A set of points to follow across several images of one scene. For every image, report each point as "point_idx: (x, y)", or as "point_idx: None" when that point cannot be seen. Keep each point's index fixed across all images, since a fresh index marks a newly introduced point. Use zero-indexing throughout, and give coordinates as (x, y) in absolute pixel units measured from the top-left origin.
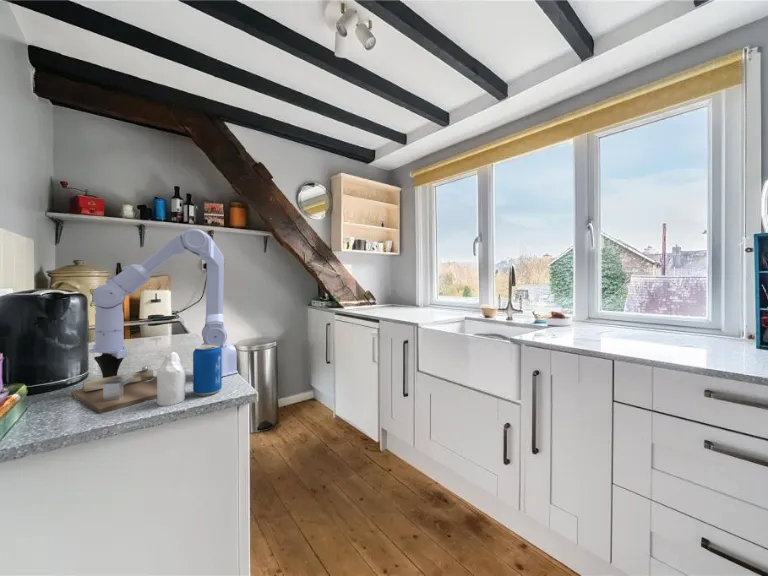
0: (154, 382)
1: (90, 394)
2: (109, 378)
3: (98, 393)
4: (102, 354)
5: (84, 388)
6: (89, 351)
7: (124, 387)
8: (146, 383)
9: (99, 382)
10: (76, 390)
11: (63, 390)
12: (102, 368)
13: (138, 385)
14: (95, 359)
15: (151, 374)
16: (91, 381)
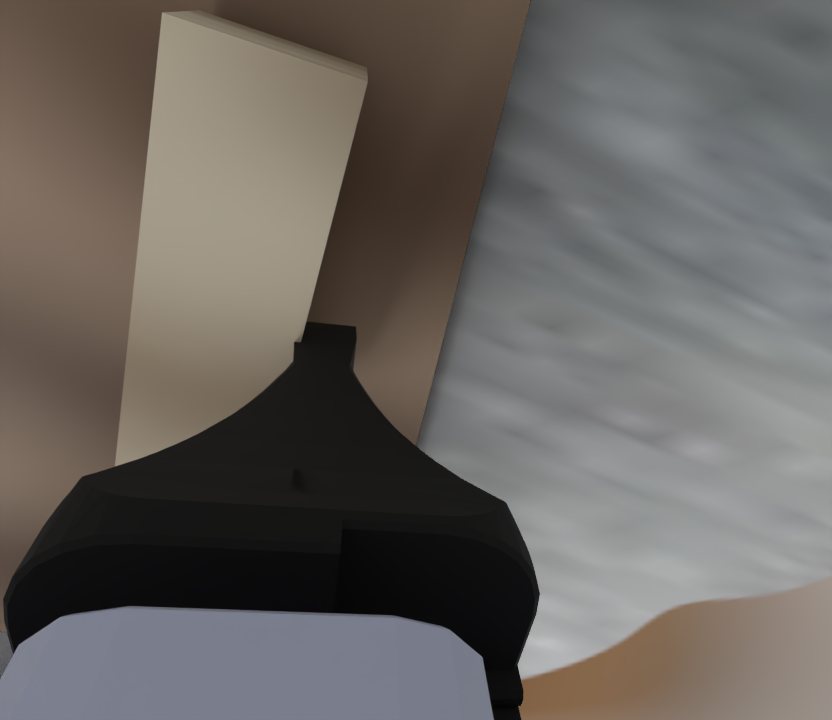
0: (1, 568)
1: (69, 13)
2: (183, 355)
3: (25, 93)
4: (508, 715)
5: (249, 31)
6: (367, 653)
7: (59, 368)
8: (30, 525)
9: (144, 209)
10: (484, 36)
11: (829, 60)
12: (267, 411)
13: (11, 462)
14: (439, 502)
15: None
16: (227, 145)
